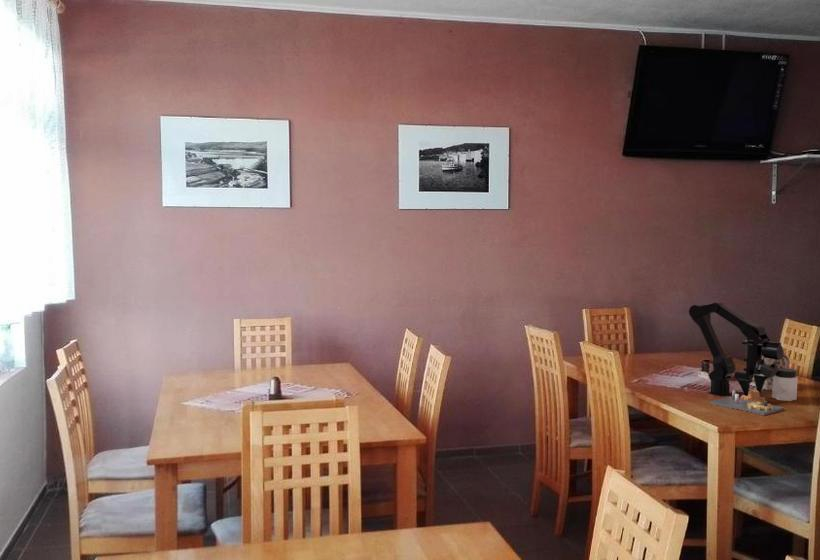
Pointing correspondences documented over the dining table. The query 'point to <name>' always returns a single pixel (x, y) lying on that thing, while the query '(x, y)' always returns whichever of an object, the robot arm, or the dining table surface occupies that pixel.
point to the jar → (785, 384)
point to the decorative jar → (780, 364)
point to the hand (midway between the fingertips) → (752, 394)
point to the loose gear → (753, 396)
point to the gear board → (747, 405)
